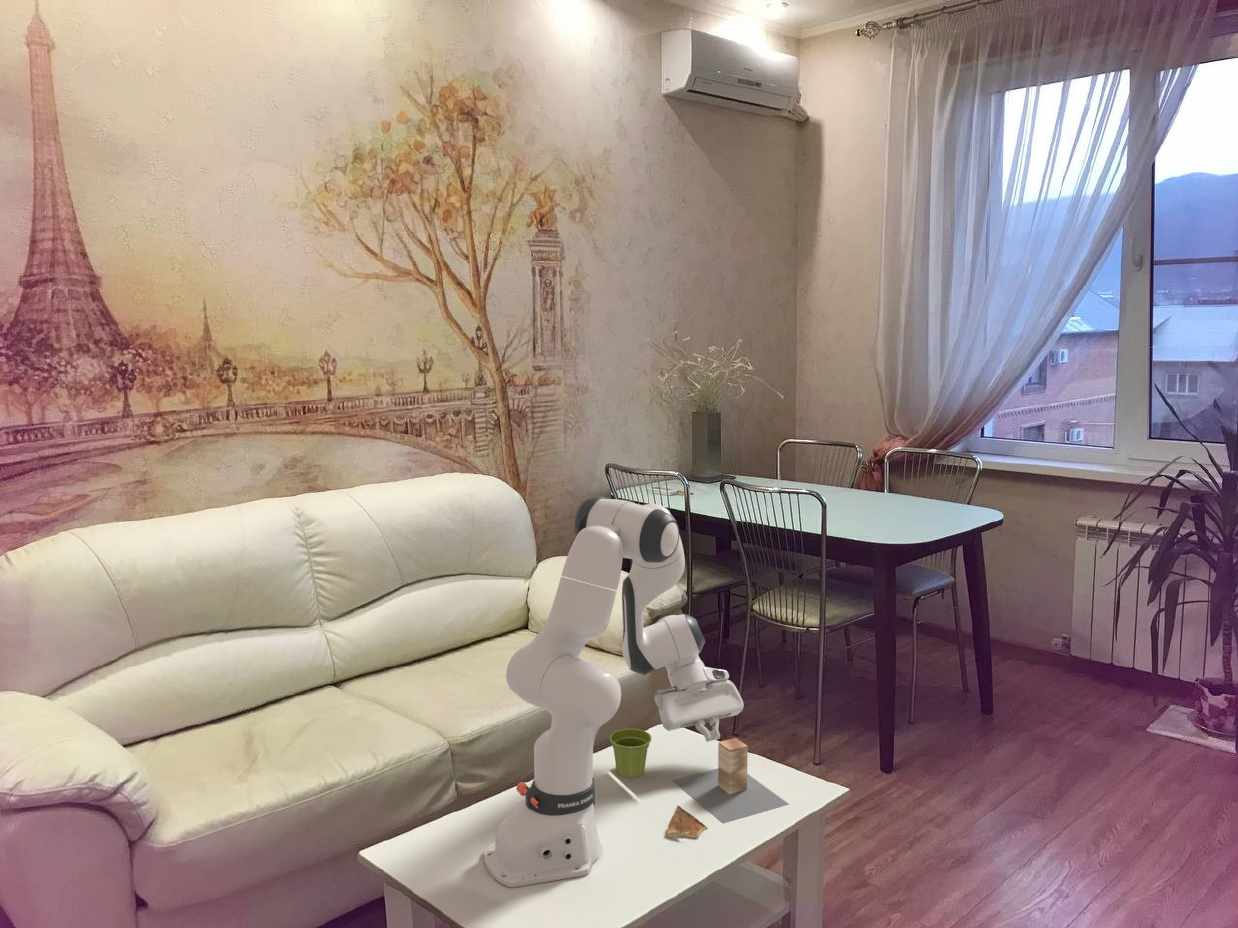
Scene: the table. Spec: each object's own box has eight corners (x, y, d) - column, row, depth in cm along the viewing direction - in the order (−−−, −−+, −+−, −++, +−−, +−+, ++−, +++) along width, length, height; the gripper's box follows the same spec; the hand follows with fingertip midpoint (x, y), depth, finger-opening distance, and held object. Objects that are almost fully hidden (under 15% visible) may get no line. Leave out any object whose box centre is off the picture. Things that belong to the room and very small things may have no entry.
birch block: (729, 794, 202) (730, 750, 200) (718, 785, 205) (718, 741, 204) (746, 789, 204) (747, 745, 202) (735, 780, 208) (735, 737, 206)
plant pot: (659, 770, 214) (659, 734, 213) (637, 787, 206) (637, 750, 205) (624, 760, 219) (623, 725, 218) (601, 776, 211) (601, 740, 210)
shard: (677, 811, 197) (677, 803, 196) (713, 816, 194) (713, 808, 194) (665, 838, 186) (665, 830, 186) (703, 844, 184) (703, 835, 184)
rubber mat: (723, 825, 190) (722, 823, 190) (671, 782, 208) (671, 780, 208) (789, 806, 197) (789, 803, 197) (734, 766, 215) (734, 764, 215)
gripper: (656, 685, 210) (678, 743, 203) (732, 669, 220) (757, 724, 212) (646, 697, 215) (668, 754, 208) (722, 681, 224) (745, 735, 217)
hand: (713, 739), depth 210 cm, fingers closed
